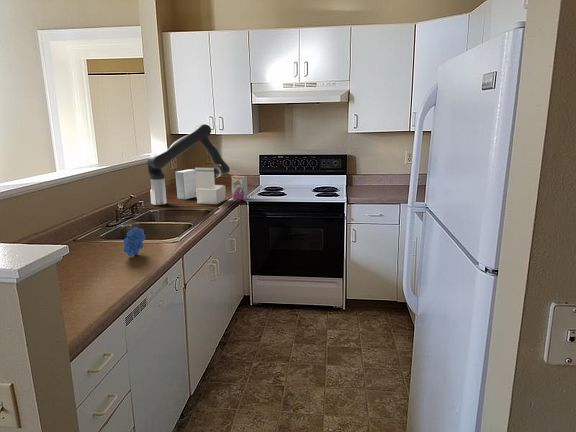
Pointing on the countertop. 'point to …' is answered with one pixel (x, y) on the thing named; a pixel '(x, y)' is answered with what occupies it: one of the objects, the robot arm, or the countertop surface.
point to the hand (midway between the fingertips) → (205, 176)
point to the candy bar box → (239, 187)
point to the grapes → (134, 241)
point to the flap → (205, 178)
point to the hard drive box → (186, 184)
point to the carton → (211, 195)
